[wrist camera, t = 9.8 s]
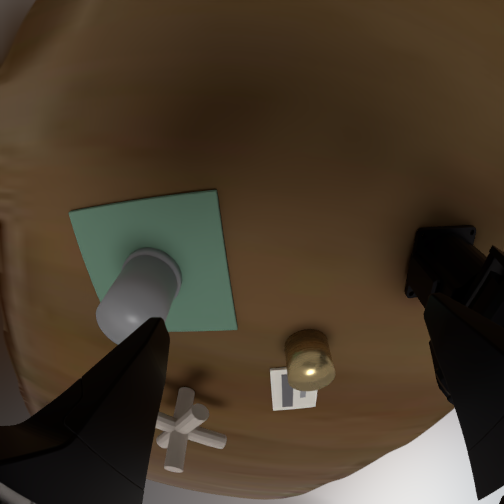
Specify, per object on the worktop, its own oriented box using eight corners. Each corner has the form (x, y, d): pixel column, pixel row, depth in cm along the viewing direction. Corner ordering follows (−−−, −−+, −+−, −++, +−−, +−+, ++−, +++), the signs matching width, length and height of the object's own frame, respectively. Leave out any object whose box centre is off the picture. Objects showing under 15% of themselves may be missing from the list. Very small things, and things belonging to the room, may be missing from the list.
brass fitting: (328, 327, 25) (337, 360, 21) (325, 356, 27) (332, 388, 23) (284, 331, 25) (287, 365, 22) (284, 360, 27) (287, 393, 24)
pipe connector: (134, 391, 31) (113, 461, 22) (162, 350, 27) (137, 438, 18) (206, 420, 33) (198, 488, 24) (248, 387, 29) (246, 470, 20)
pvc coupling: (176, 245, 21) (152, 295, 16) (187, 299, 23) (171, 354, 18) (118, 249, 21) (83, 294, 16) (133, 299, 23) (108, 350, 18)
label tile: (319, 363, 27) (320, 366, 27) (314, 404, 31) (315, 407, 31) (270, 368, 28) (270, 371, 27) (273, 408, 31) (273, 411, 31)
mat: (216, 189, 19) (216, 191, 19) (237, 326, 25) (237, 329, 25) (71, 210, 20) (68, 212, 20) (114, 327, 26) (113, 330, 25)
